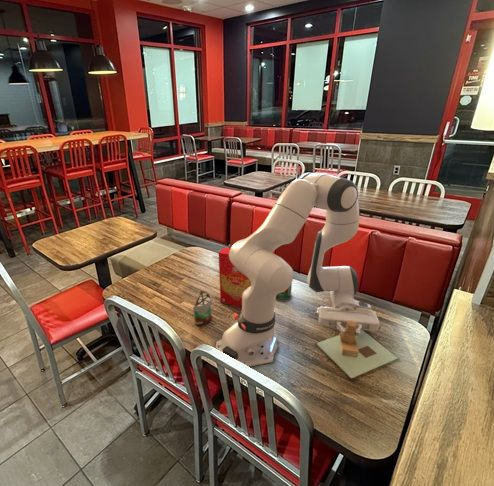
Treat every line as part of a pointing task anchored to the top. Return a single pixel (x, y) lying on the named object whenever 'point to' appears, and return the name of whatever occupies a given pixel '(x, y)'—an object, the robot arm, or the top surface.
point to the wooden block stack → (349, 340)
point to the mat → (367, 357)
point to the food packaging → (231, 280)
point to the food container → (203, 308)
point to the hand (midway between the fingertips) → (350, 333)
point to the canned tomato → (284, 294)
